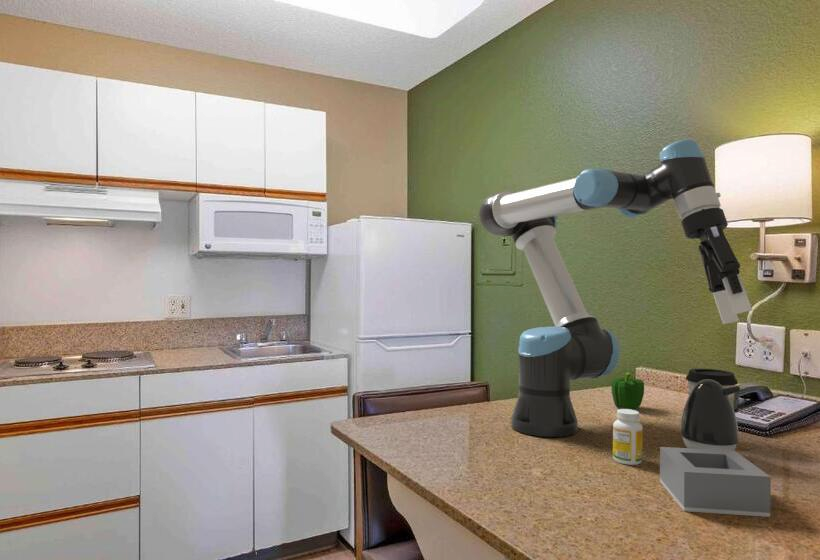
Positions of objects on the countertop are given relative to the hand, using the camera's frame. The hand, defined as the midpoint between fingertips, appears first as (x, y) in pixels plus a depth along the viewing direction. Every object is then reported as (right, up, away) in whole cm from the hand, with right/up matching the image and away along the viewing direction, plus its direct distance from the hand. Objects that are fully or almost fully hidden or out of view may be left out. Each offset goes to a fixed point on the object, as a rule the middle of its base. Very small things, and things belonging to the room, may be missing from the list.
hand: (736, 317), depth 99 cm
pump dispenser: (-1, -28, +7) cm, 29 cm away
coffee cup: (+4, -28, +16) cm, 33 cm away
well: (-12, -28, -13) cm, 33 cm away
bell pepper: (-2, -28, +45) cm, 53 cm away
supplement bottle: (-19, -28, +4) cm, 34 cm away
